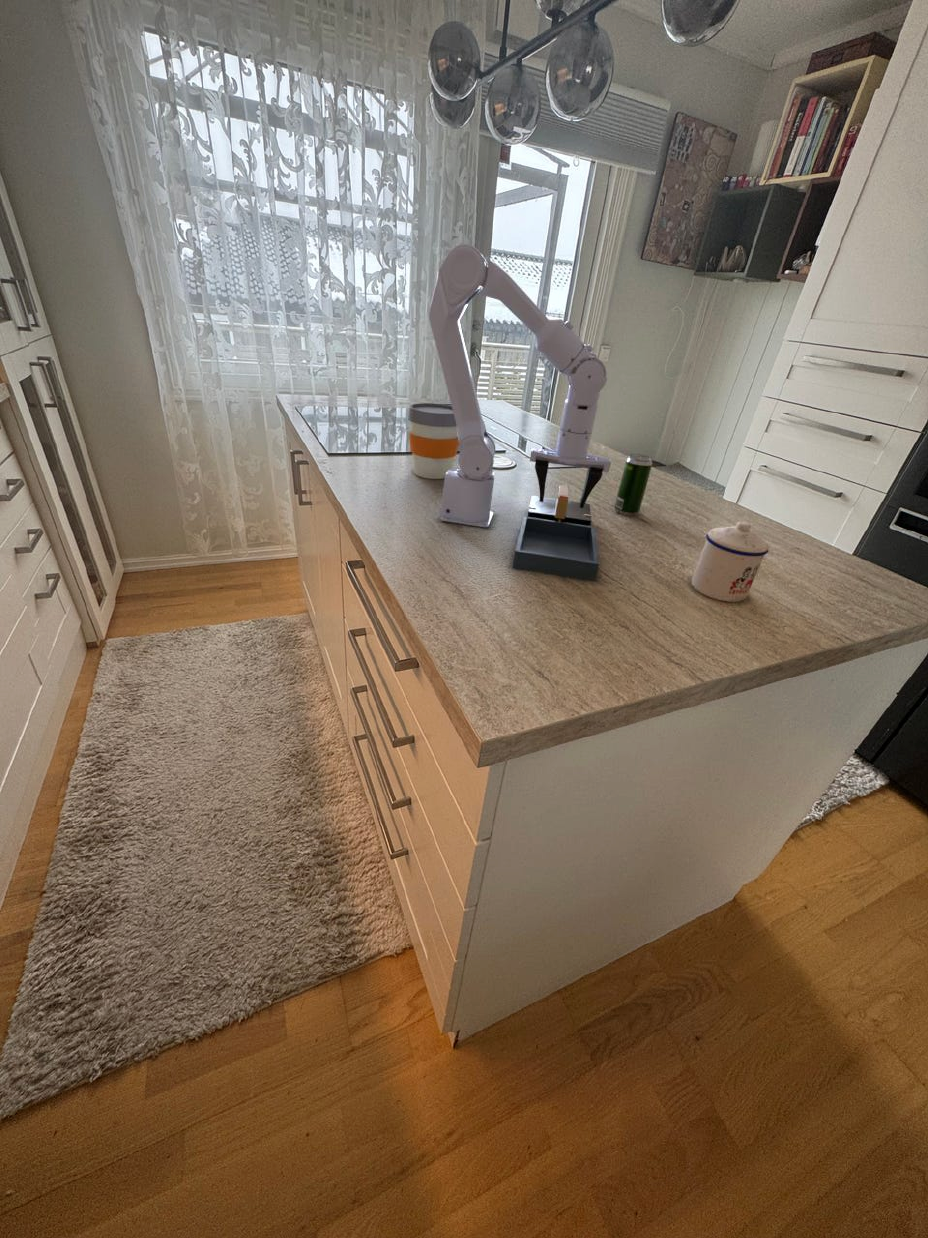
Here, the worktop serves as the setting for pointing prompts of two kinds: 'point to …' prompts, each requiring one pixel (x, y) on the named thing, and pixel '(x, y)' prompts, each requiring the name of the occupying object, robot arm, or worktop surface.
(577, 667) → the worktop surface
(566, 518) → the black cupboard
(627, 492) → the beer can
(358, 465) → the worktop surface
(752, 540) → the teacup with lid
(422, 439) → the reusable coffee cup
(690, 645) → the worktop surface
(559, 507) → the yellow-brown long block
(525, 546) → the tray
